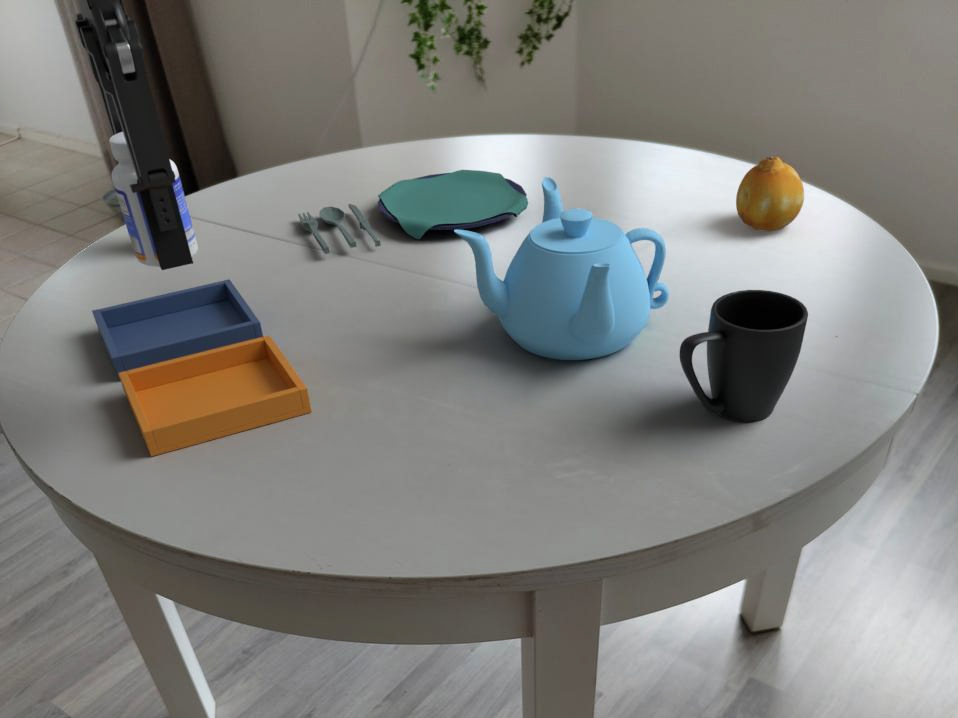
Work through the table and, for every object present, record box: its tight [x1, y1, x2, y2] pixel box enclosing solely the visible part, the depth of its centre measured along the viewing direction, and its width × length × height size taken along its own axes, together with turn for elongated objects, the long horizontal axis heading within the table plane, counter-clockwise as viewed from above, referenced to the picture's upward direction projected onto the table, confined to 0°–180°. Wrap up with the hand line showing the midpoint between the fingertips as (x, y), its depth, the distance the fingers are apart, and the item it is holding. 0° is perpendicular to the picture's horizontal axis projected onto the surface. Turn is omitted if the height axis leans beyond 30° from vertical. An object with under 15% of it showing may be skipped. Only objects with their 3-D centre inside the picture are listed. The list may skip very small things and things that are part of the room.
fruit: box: [735, 156, 805, 232], centre depth 116 cm, size 8×8×8 cm
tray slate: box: [91, 278, 264, 382], centre depth 102 cm, size 16×13×3 cm
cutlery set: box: [297, 169, 529, 255], centre depth 124 cm, size 20×30×2 cm, turn 110°
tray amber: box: [118, 334, 312, 457], centre depth 92 cm, size 16×13×3 cm
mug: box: [679, 289, 809, 423], centre depth 84 cm, size 8×12×10 cm
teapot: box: [453, 176, 670, 361], centre depth 96 cm, size 17×19×12 cm
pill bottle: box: [108, 132, 199, 268], centre depth 79 cm, size 5×5×10 cm
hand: (168, 252), depth 82 cm, fingers closed on pill bottle, 5 cm apart
